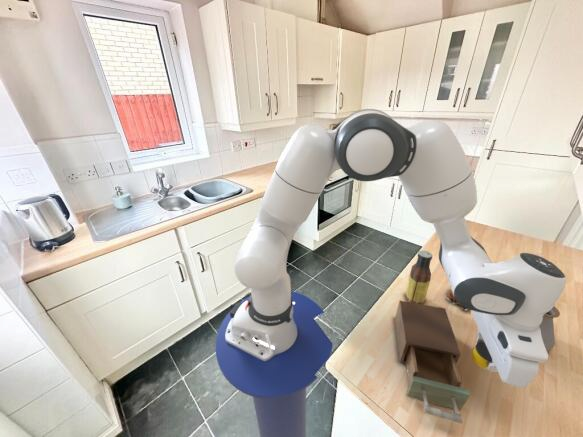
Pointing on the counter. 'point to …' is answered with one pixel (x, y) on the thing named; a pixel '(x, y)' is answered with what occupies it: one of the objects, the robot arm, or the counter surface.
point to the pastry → (453, 299)
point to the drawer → (435, 381)
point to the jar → (481, 355)
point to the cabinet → (424, 329)
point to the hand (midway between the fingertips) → (485, 356)
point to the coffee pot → (548, 328)
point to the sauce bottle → (419, 278)
